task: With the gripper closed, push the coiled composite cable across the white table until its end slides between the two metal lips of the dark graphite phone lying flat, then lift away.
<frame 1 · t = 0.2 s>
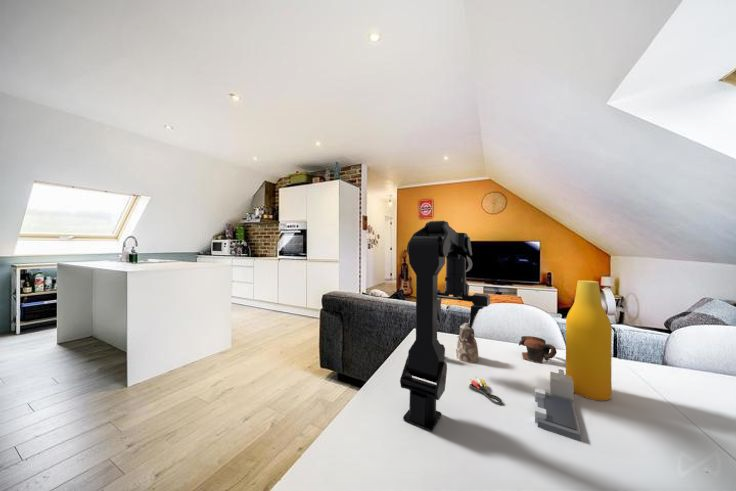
hand: (454, 325, 78), 14 cm above the table, tool pointing down, fingers open, 9 cm apart
beer bottle: (587, 392, 67), on the table
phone: (556, 415, 57), on the table
pottery mug: (536, 359, 87), on the table
figurine: (466, 358, 87), on the table
composite cable: (483, 395, 65), on the table
salt shaker: (429, 356, 88), on the table
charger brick: (561, 397, 64), on the table
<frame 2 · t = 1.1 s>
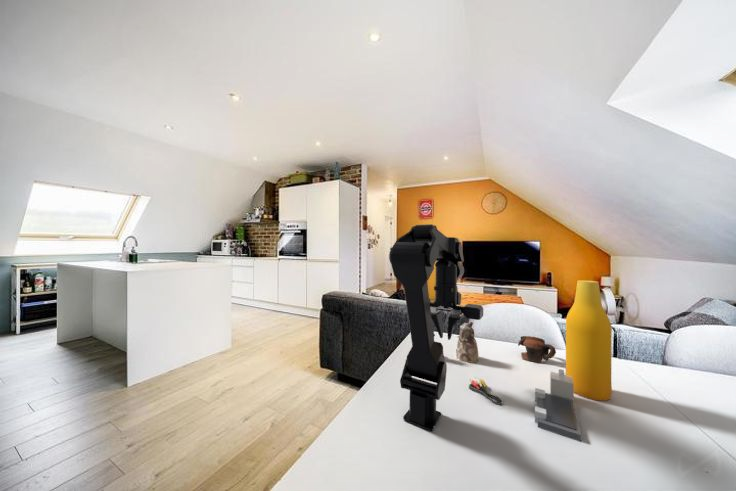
hand: (445, 338, 71), 12 cm above the table, tool pointing down, fingers closed
nothing on the table moved.
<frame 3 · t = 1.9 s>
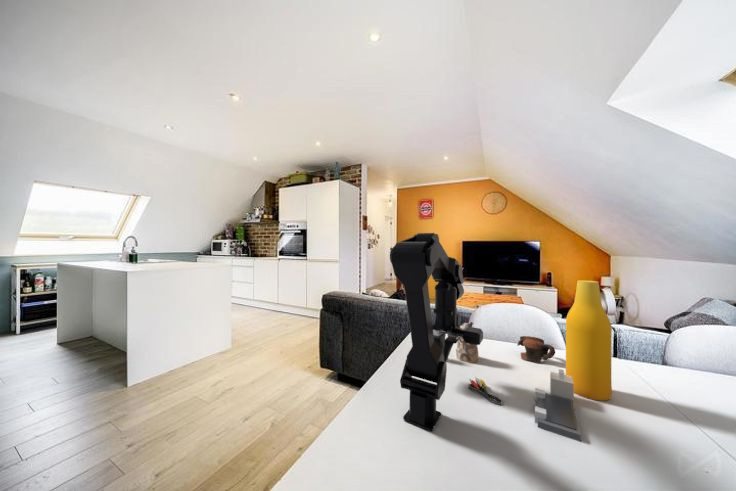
hand: (445, 361, 71), 6 cm above the table, tool pointing down, fingers closed
nothing on the table moved.
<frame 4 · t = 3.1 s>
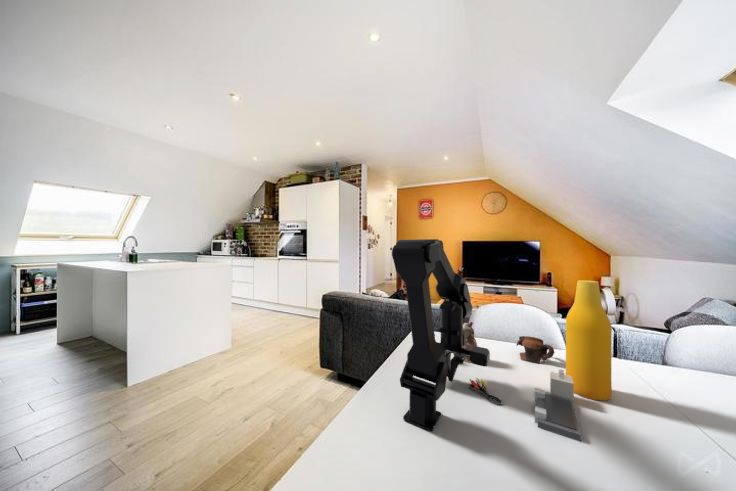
hand: (450, 380, 70), 1 cm above the table, tool pointing down, fingers closed
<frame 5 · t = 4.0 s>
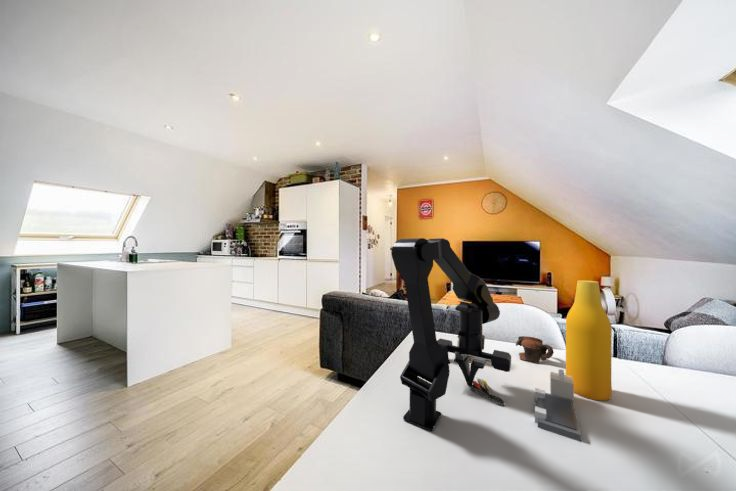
hand: (469, 385, 67), 1 cm above the table, tool pointing down, fingers closed
composite cable: (485, 396, 65), on the table, touching gripper
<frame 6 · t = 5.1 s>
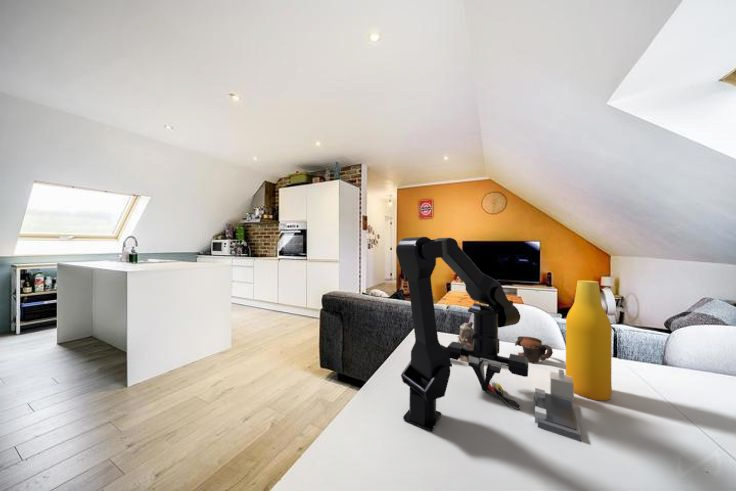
hand: (484, 390, 65), 1 cm above the table, tool pointing down, fingers closed
composite cable: (500, 400, 64), on the table
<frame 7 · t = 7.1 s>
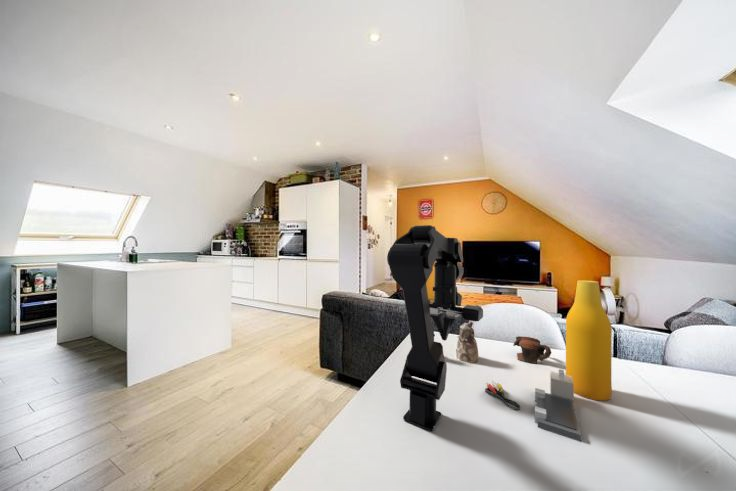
hand: (444, 340, 70), 12 cm above the table, tool pointing down, fingers closed
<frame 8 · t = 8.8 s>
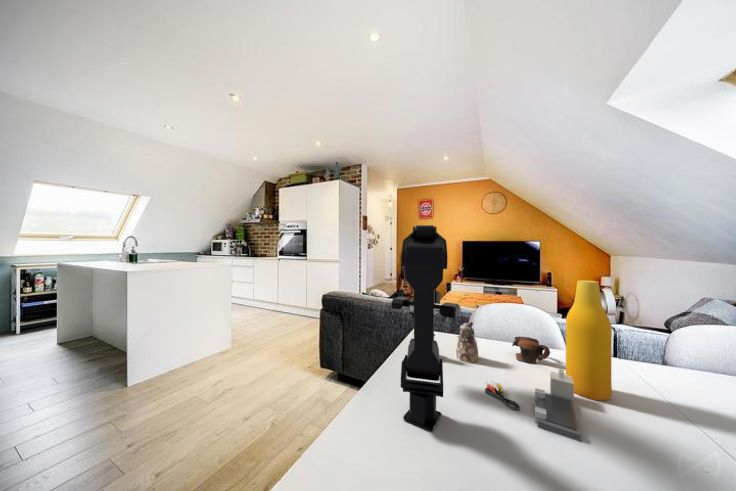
hand: (423, 336, 72), 12 cm above the table, tool pointing down, fingers closed
at the end: composite cable inside the target area (2.7 cm from its centre), on the table; composite cable moved 3.8 cm from its start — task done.
